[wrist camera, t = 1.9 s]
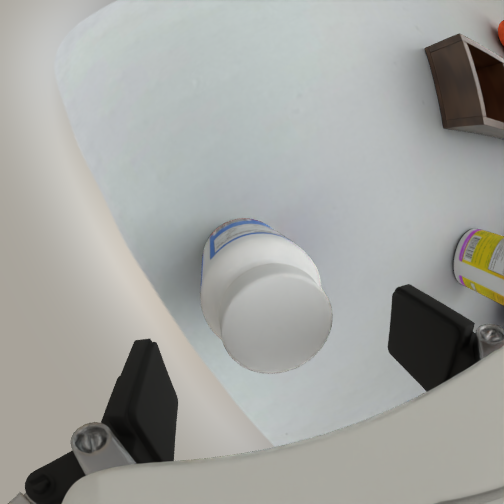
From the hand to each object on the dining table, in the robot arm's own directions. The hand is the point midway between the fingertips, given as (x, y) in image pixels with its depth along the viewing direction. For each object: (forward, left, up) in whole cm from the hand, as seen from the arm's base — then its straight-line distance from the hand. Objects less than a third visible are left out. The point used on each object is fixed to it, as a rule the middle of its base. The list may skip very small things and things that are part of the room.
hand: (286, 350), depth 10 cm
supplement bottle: (+16, +20, -12) cm, 28 cm away
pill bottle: (0, 0, -12) cm, 12 cm away
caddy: (+2, +33, -12) cm, 35 cm away
